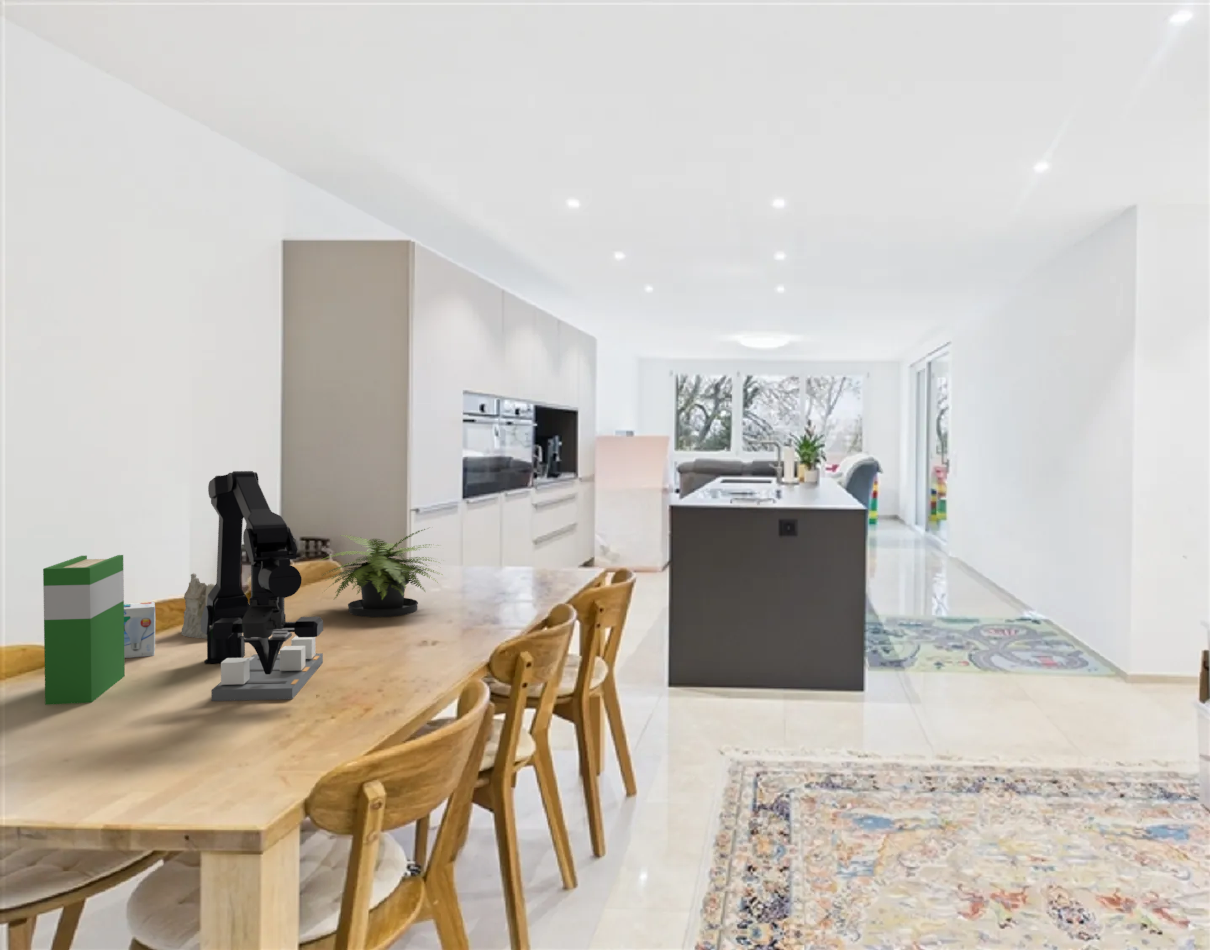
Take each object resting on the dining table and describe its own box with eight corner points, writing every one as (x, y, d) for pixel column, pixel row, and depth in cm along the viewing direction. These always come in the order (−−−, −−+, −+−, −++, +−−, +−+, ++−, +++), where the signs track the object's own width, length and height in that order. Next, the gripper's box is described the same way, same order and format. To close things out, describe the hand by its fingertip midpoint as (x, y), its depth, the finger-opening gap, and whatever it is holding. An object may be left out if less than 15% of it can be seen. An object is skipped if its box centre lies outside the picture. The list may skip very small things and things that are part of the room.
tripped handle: (220, 684, 158) (220, 662, 158) (227, 679, 162) (226, 657, 162) (243, 684, 159) (243, 662, 159) (249, 678, 162) (249, 657, 162)
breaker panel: (211, 700, 156) (211, 689, 156) (253, 663, 182) (253, 653, 182) (292, 699, 158) (292, 687, 158) (322, 662, 184) (322, 652, 184)
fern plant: (475, 615, 235) (476, 526, 234) (329, 630, 214) (329, 533, 213) (425, 594, 266) (426, 515, 265) (294, 605, 246) (294, 520, 245)
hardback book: (83, 677, 170) (81, 555, 170) (124, 676, 172) (123, 554, 171) (45, 704, 153) (43, 568, 152) (91, 702, 155) (89, 567, 154)
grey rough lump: (212, 640, 202) (213, 575, 203) (167, 635, 210) (169, 572, 211) (267, 632, 216) (268, 571, 216) (223, 627, 224) (224, 568, 224)
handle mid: (279, 670, 168) (279, 650, 168) (284, 666, 172) (284, 645, 172) (301, 670, 169) (301, 649, 169) (305, 665, 172) (305, 645, 172)
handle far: (291, 659, 177) (291, 639, 177) (295, 654, 181) (295, 635, 181) (311, 658, 178) (311, 639, 178) (315, 654, 181) (315, 635, 181)
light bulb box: (98, 661, 183) (97, 610, 183) (100, 654, 189) (99, 604, 189) (155, 655, 188) (155, 606, 188) (155, 649, 194) (155, 600, 194)
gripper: (199, 598, 151) (200, 687, 152) (309, 596, 153) (310, 684, 154) (220, 587, 162) (221, 670, 163) (323, 586, 164) (324, 668, 165)
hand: (268, 673), depth 161 cm, fingers closed
